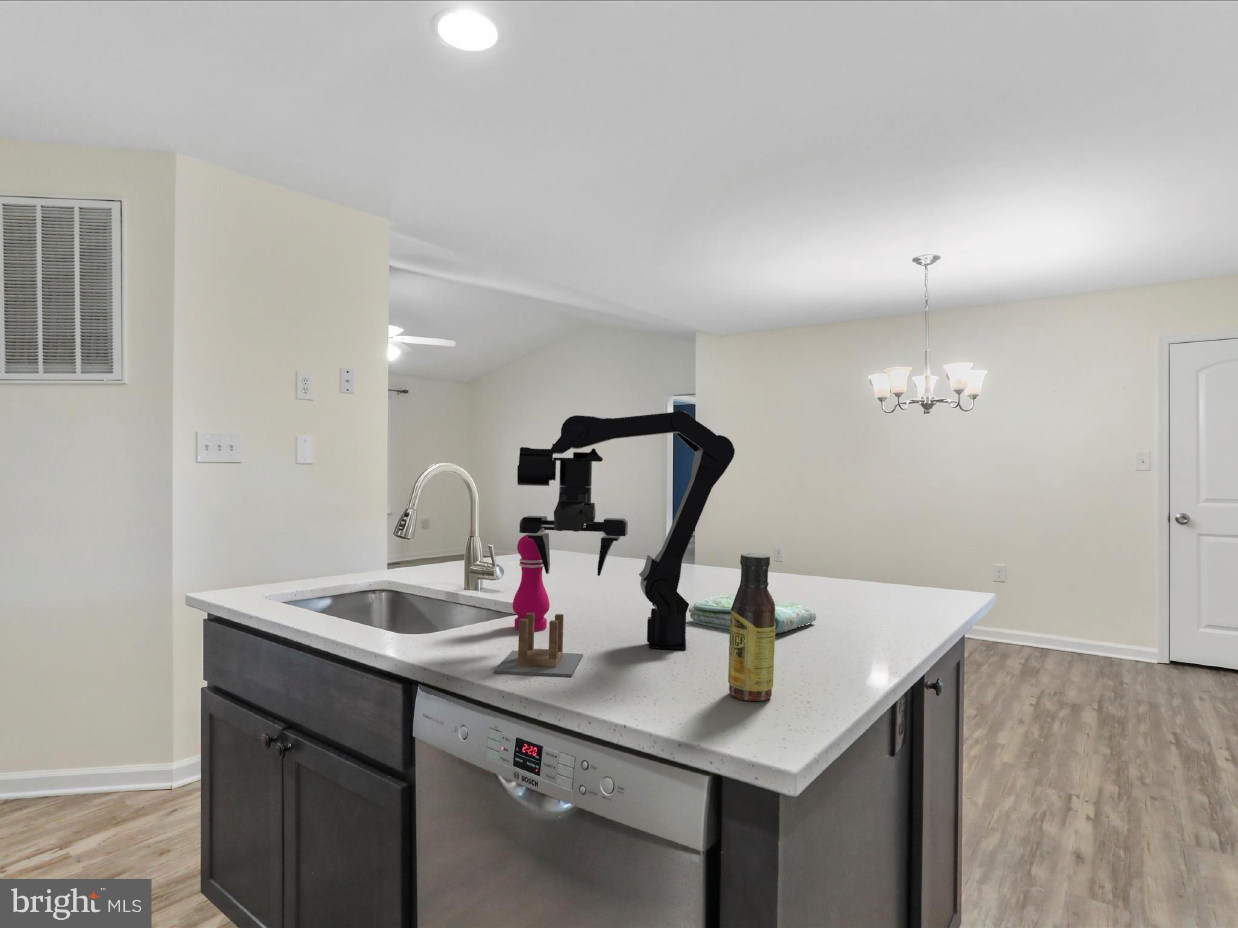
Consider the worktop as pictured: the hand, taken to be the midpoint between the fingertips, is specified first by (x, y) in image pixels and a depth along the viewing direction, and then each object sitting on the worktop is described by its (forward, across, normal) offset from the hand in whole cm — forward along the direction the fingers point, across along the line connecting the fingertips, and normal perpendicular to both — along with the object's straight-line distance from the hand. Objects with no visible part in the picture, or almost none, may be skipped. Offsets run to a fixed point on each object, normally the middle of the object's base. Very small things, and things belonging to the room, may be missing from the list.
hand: (573, 574), depth 124 cm
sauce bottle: (+13, +29, -24) cm, 40 cm away
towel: (+13, +34, +25) cm, 44 cm away
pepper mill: (+13, -10, +12) cm, 20 cm away
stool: (+12, -3, -13) cm, 18 cm away
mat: (+12, -3, -13) cm, 18 cm away
